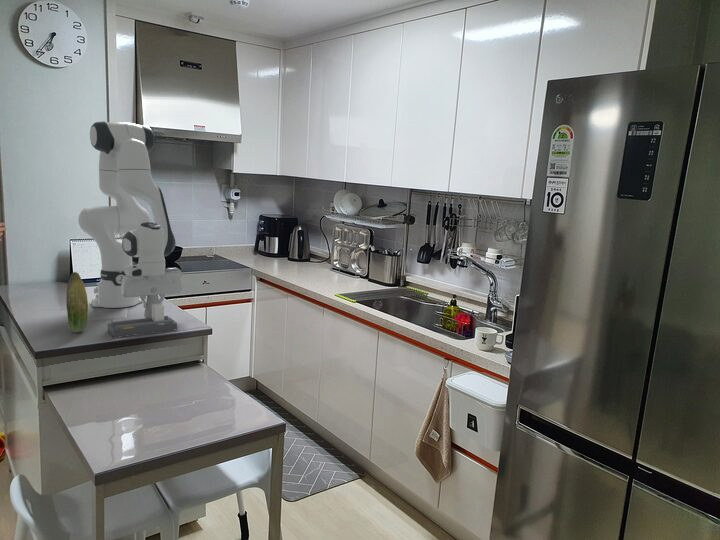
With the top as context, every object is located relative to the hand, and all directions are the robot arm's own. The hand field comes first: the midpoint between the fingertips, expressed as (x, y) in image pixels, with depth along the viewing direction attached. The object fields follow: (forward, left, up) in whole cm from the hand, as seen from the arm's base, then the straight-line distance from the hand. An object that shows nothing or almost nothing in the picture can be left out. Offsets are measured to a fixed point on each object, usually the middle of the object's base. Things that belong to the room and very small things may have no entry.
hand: (152, 307), depth 191 cm
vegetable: (+4, -25, -5) cm, 25 cm away
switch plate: (+10, -6, -5) cm, 13 cm away
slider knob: (+10, -1, -2) cm, 10 cm away
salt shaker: (0, 0, -5) cm, 5 cm away
